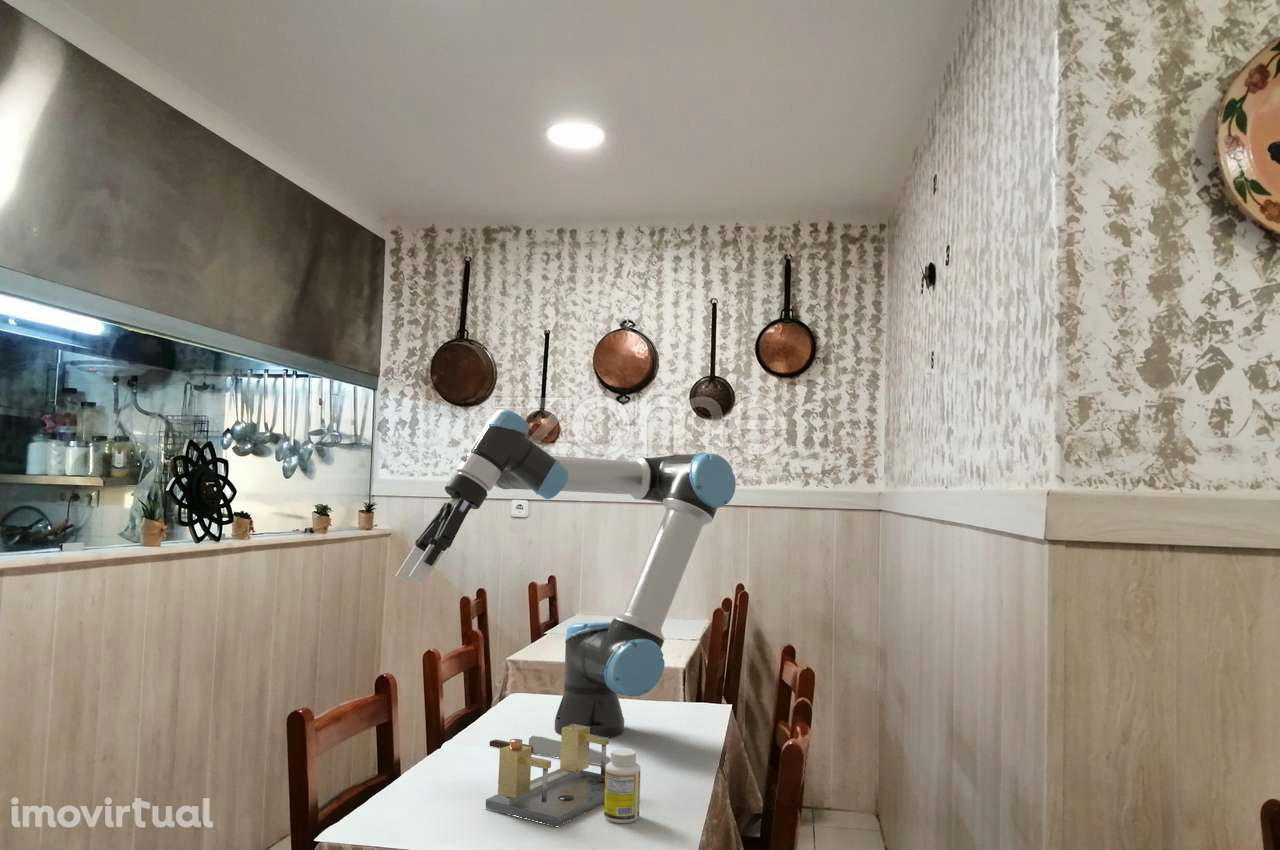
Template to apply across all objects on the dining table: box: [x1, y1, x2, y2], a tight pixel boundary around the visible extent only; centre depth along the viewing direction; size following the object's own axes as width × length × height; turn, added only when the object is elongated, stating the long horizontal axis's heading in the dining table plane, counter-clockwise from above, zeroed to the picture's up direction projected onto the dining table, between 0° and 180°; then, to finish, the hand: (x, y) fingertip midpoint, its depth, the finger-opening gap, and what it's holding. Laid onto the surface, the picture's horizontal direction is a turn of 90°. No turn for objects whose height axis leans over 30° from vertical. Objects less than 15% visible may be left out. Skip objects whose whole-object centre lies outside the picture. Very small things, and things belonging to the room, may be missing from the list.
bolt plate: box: [485, 768, 605, 827], centre depth 148 cm, size 22×14×2 cm, turn 150°
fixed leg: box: [559, 724, 610, 776], centre depth 155 cm, size 4×8×7 cm, turn 60°
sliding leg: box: [497, 738, 552, 803], centre depth 141 cm, size 4×8×8 cm, turn 60°
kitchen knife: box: [489, 734, 611, 765], centre depth 172 cm, size 4×1×30 cm
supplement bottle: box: [603, 748, 641, 824], centre depth 140 cm, size 6×6×10 cm
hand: (408, 580), depth 160 cm, fingers open, 13 cm apart
